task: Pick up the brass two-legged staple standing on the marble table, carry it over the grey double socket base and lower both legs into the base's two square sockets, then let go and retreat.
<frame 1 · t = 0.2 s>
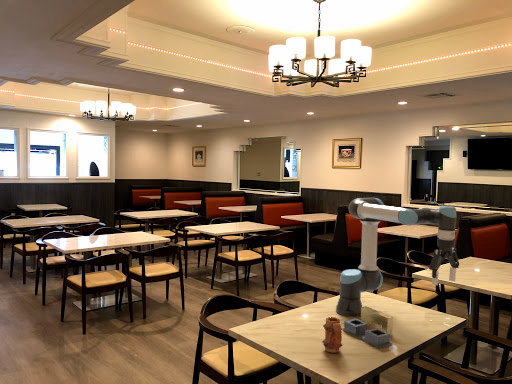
hand: (443, 282, 198), 28 cm above the table, fingers open, 13 cm apart
grey double socket base: (366, 337, 200), on the table
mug: (333, 353, 182), on the table
staple: (375, 329, 210), on the table
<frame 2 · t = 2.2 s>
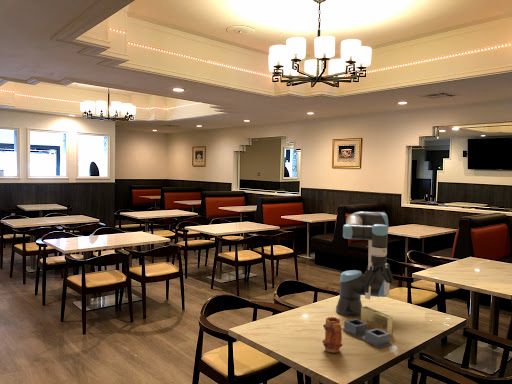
hand: (377, 297, 209), 17 cm above the table, fingers open, 13 cm apart
nothing on the table moved.
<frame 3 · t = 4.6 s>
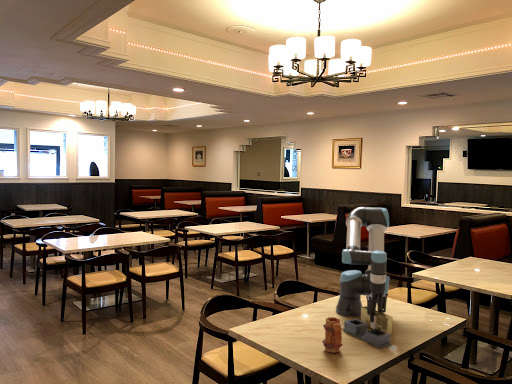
hand: (375, 327, 210), 1 cm above the table, fingers closed on staple, 3 cm apart
staple: (375, 329, 210), on the table, touching gripper
everything else where it was.
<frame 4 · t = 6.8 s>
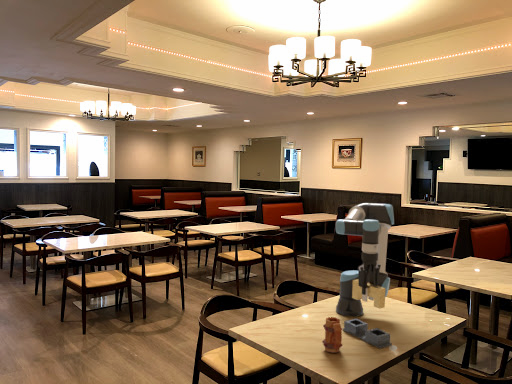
hand: (367, 300, 199), 18 cm above the table, fingers closed on staple, 3 cm apart
staple: (367, 302, 199), point 17 cm above the table, touching gripper
everything else where it was.
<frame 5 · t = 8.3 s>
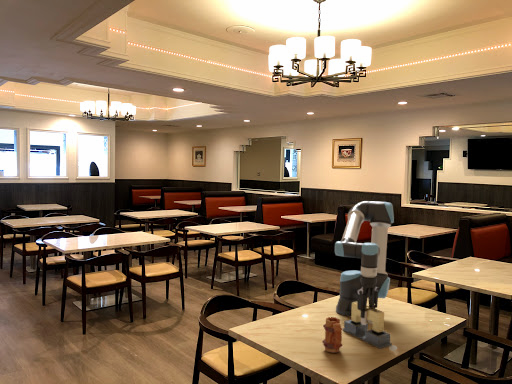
hand: (366, 323, 199), 7 cm above the table, fingers closed on staple, 3 cm apart
staple: (366, 325, 199), point 6 cm above the table, touching gripper
everything else where it was.
when the fingers open (4 cm above the table, at t = 9.2 s): staple drops 1 cm, resting on grey double socket base.
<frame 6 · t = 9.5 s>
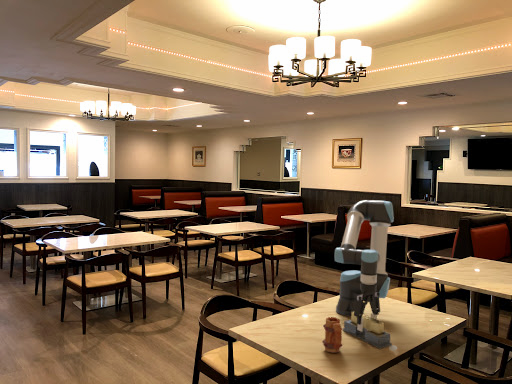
hand: (366, 328, 200), 4 cm above the table, fingers open, 8 cm apart
staple: (366, 335, 200), point 1 cm above the table, touching grey double socket base
everything else where it was.
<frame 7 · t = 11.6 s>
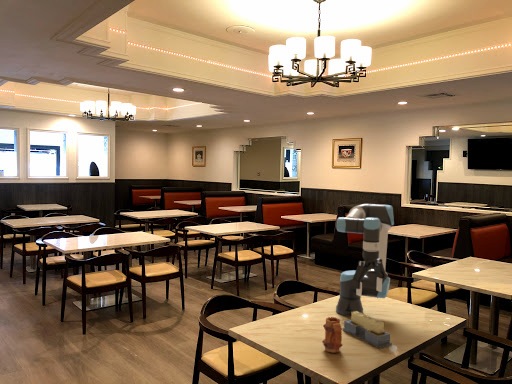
hand: (369, 293, 200), 21 cm above the table, fingers open, 13 cm apart
nothing on the table moved.
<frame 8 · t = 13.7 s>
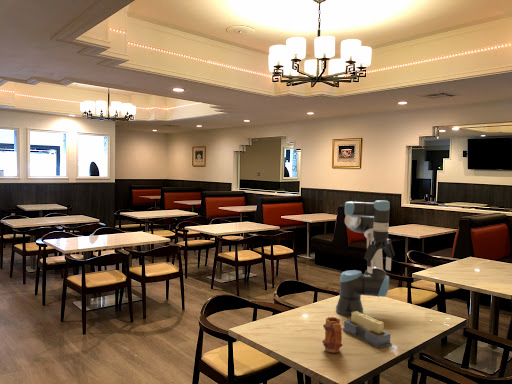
hand: (379, 271, 213), 29 cm above the table, fingers open, 13 cm apart
nothing on the table moved.
at the end: staple 0.0 cm off-centre on the grey double socket base, point 1.0 cm above the grey double socket base's base; staple tilted 0°; the gripper is holding nothing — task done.
